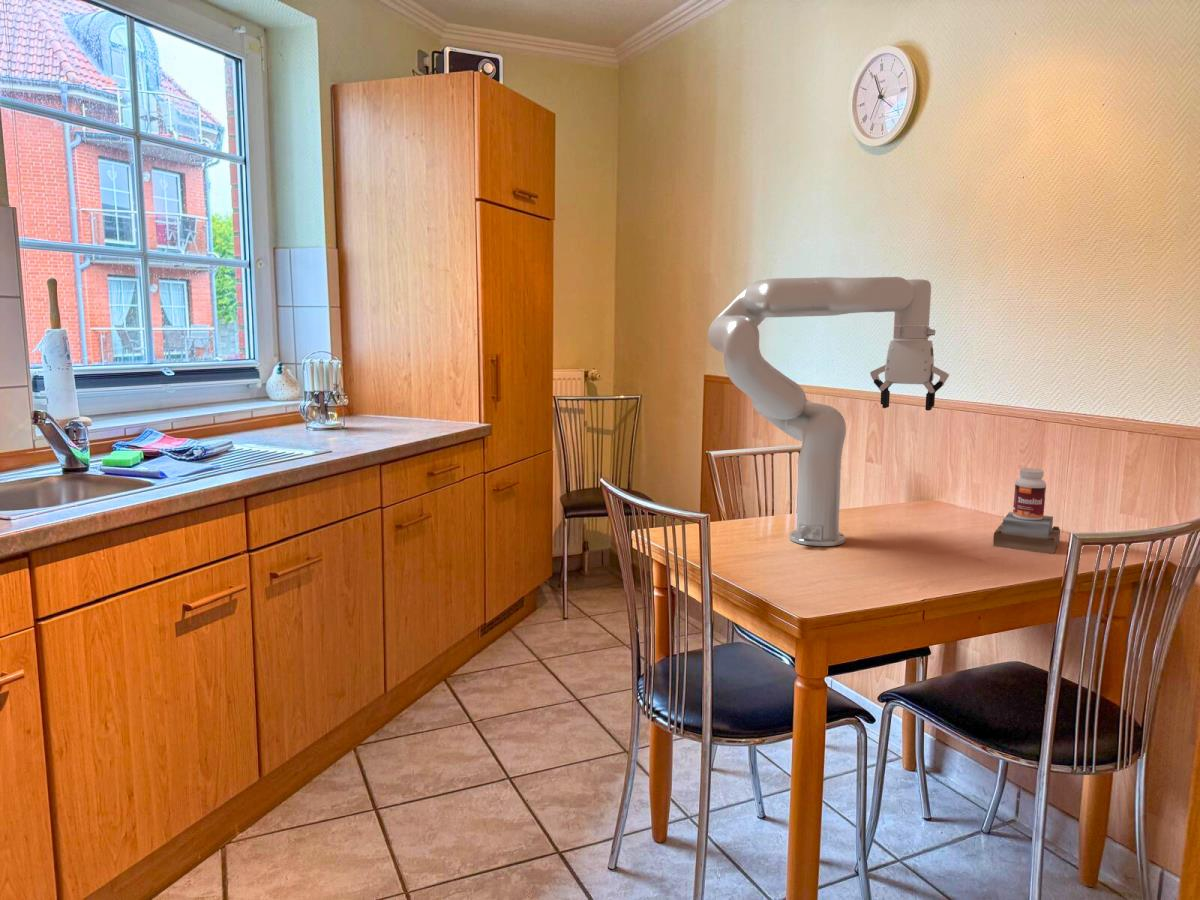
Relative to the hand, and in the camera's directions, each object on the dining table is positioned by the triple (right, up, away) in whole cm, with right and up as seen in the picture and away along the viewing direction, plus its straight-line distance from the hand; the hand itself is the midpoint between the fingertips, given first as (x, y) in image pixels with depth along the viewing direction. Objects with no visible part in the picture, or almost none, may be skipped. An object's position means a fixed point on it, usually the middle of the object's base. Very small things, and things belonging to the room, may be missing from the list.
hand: (906, 408), depth 190 cm
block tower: (+26, -31, -4) cm, 40 cm away
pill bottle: (+25, -25, -5) cm, 36 cm away
